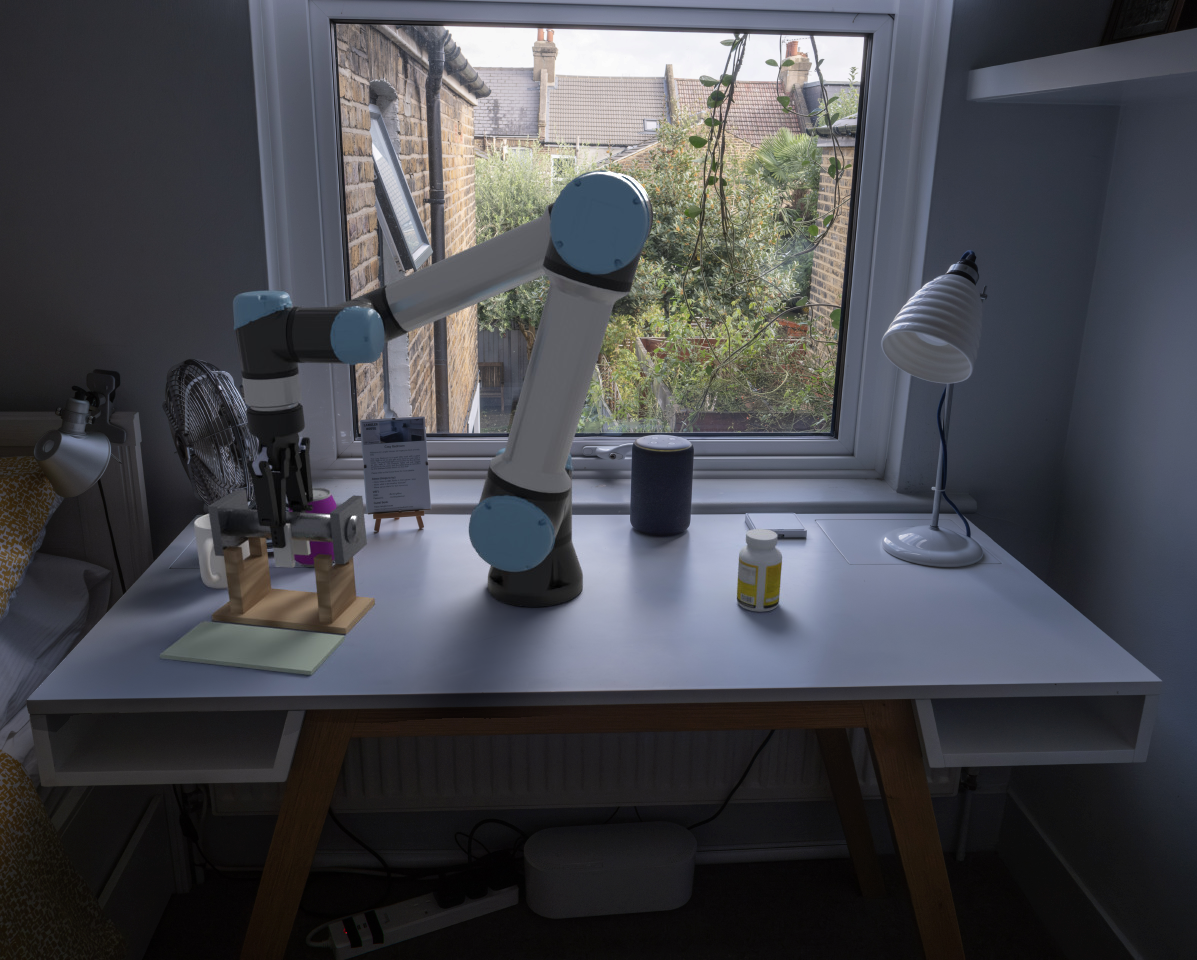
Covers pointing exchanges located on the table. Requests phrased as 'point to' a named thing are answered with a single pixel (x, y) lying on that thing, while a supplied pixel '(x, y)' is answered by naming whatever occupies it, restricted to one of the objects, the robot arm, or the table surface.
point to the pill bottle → (759, 571)
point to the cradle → (290, 594)
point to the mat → (254, 647)
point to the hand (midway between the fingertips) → (293, 559)
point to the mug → (212, 555)
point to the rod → (338, 527)
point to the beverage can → (321, 505)
